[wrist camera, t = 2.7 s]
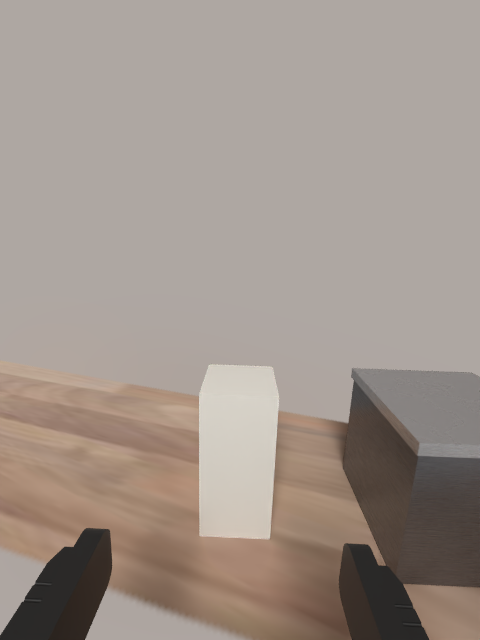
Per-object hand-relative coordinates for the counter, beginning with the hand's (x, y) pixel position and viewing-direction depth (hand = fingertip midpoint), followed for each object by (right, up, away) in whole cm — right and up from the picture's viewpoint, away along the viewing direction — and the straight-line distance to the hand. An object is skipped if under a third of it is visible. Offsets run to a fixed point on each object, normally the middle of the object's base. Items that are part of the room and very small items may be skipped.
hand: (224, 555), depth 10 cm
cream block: (0, -7, +13) cm, 15 cm away
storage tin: (+15, -7, +13) cm, 21 cm away
